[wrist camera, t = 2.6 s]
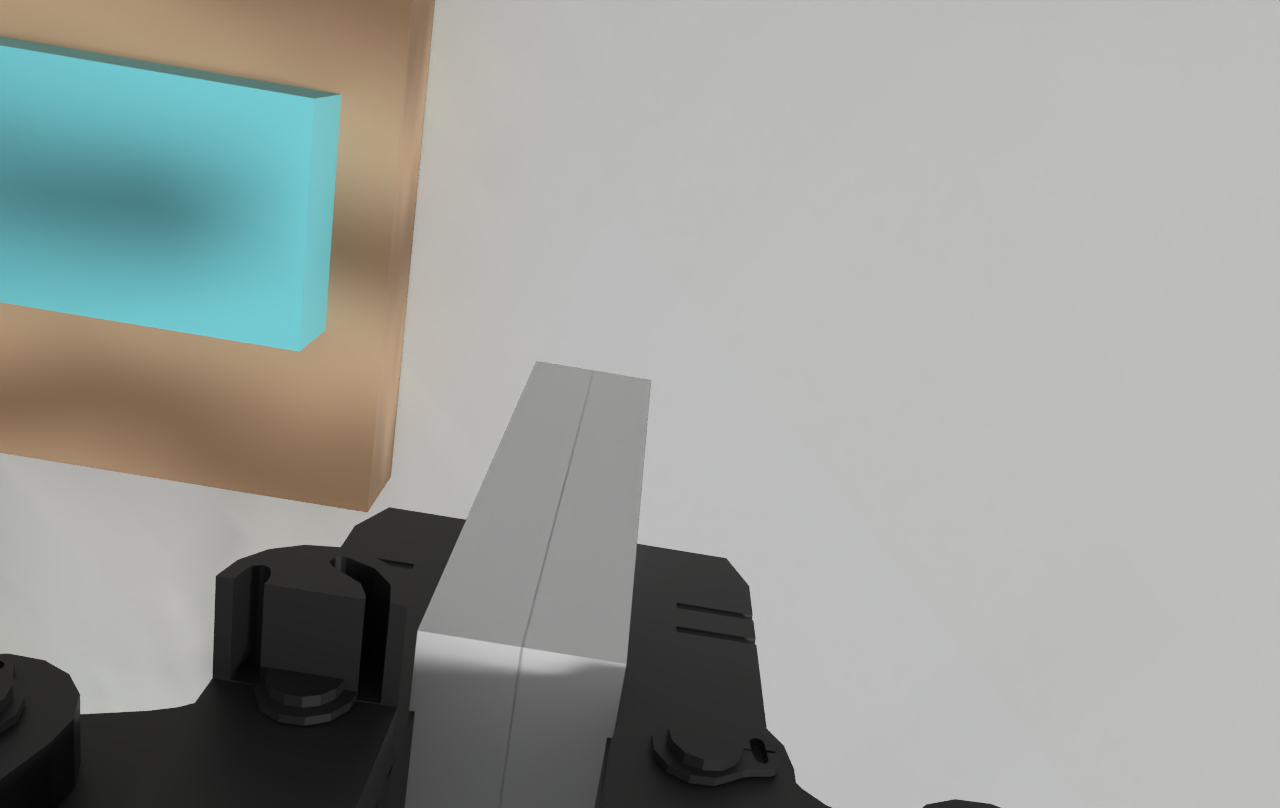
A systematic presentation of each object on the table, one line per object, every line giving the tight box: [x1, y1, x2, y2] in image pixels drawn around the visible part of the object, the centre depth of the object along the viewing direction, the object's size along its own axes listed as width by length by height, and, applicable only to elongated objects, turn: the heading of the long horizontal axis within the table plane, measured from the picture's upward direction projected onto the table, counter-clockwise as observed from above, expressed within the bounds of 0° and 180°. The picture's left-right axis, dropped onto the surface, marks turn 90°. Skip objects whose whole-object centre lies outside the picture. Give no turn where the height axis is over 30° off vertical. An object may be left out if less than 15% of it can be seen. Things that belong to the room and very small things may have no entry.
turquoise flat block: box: [0, 36, 341, 352], centre depth 26 cm, size 6×9×2 cm, turn 81°
